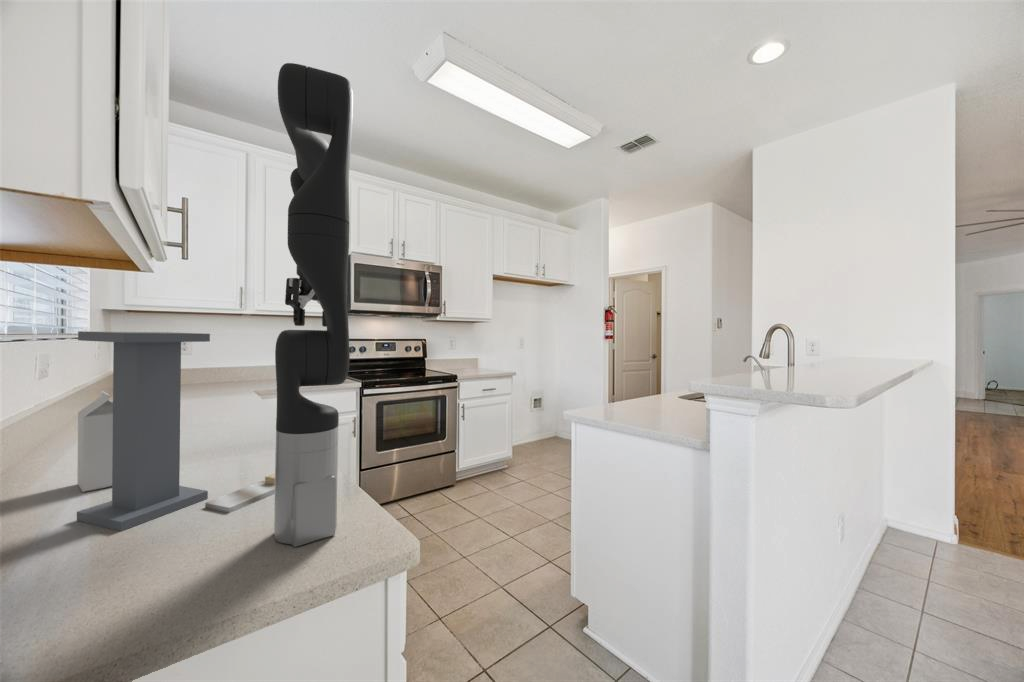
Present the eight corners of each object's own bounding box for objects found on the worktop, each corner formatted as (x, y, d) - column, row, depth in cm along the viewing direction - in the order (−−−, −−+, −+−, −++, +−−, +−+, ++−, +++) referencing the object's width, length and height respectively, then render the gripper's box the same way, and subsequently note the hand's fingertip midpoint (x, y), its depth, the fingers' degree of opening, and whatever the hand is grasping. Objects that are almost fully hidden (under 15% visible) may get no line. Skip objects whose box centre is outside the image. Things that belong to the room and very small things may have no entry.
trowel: (296, 471, 96) (296, 461, 96) (317, 475, 94) (317, 464, 94) (205, 508, 76) (205, 495, 76) (229, 513, 74) (229, 500, 74)
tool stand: (167, 490, 83) (168, 332, 82) (207, 498, 80) (209, 333, 79) (76, 520, 69) (78, 331, 69) (121, 531, 66) (123, 333, 66)
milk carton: (82, 493, 81) (83, 396, 80) (77, 484, 85) (77, 392, 85) (131, 483, 86) (132, 393, 86) (123, 475, 91) (124, 389, 90)
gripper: (323, 262, 104) (322, 326, 104) (276, 251, 90) (275, 325, 90) (348, 261, 102) (347, 327, 102) (304, 249, 88) (303, 325, 88)
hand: (313, 326), depth 96 cm, fingers open, 8 cm apart
